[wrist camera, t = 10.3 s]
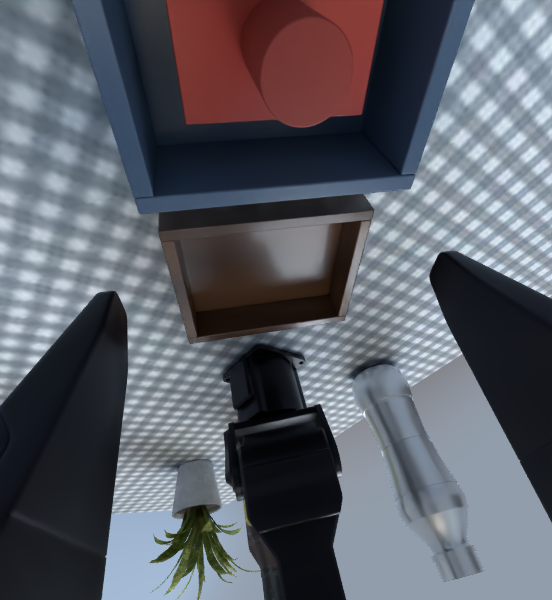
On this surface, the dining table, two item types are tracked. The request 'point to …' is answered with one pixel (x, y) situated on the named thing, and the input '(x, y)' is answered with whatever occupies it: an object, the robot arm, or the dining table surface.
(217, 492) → the house plant
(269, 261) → the brown wooden tray
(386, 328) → the dining table surface
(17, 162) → the dining table surface
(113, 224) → the dining table surface
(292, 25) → the brush
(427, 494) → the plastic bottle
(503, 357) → the robot arm
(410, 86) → the tote
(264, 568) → the sauce bottle
